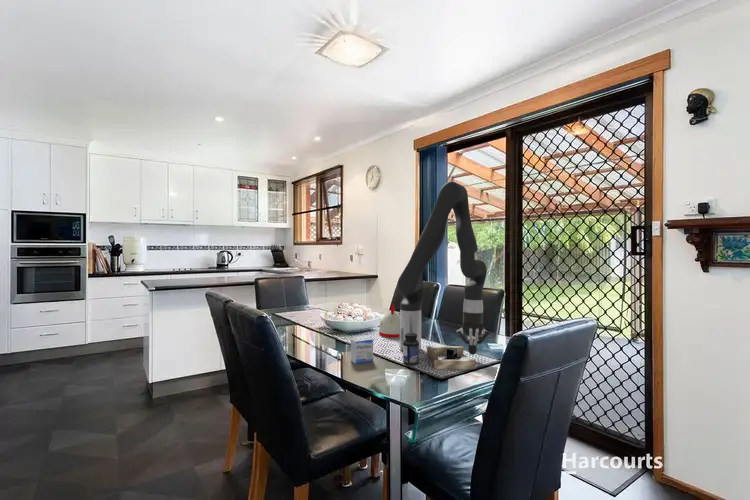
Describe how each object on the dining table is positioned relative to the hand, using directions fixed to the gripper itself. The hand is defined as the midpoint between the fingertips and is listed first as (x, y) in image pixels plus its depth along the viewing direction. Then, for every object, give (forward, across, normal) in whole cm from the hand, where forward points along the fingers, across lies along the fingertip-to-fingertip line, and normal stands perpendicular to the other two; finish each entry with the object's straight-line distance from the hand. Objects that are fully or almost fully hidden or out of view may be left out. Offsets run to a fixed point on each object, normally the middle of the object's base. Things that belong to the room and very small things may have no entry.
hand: (472, 354), depth 149 cm
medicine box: (+3, +44, +1) cm, 44 cm away
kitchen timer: (+3, +29, -42) cm, 51 cm away
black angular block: (+3, +7, -2) cm, 8 cm away
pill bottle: (+3, +24, +3) cm, 25 cm away
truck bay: (+3, +9, +1) cm, 9 cm away
